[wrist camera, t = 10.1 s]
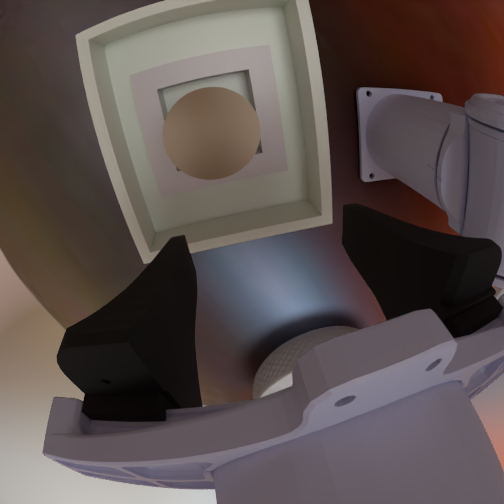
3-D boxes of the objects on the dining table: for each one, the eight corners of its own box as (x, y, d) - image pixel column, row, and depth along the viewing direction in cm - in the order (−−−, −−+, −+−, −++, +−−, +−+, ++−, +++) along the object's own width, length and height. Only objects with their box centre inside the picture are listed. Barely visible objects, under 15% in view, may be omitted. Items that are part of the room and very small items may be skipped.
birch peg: (235, 84, 16) (252, 78, 9) (245, 138, 18) (266, 169, 12) (176, 96, 16) (152, 100, 9) (188, 150, 18) (175, 189, 11)
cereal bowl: (356, 367, 39) (371, 403, 33) (253, 391, 38) (261, 432, 32) (379, 290, 30) (408, 334, 24) (238, 320, 29) (246, 376, 23)
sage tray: (289, -1, 13) (304, -15, 10) (316, 204, 22) (332, 223, 20) (95, 41, 12) (75, 35, 10) (151, 239, 22) (144, 263, 19)
